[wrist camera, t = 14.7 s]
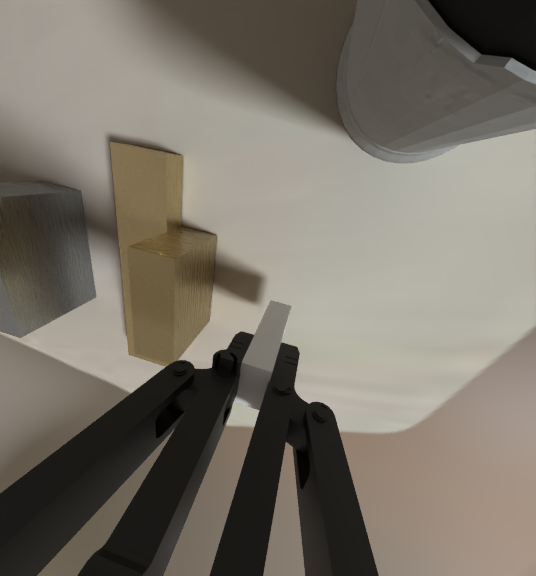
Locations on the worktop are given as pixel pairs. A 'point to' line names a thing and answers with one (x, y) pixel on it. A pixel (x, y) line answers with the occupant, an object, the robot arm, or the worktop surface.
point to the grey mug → (436, 75)
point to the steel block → (41, 255)
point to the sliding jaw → (159, 255)
